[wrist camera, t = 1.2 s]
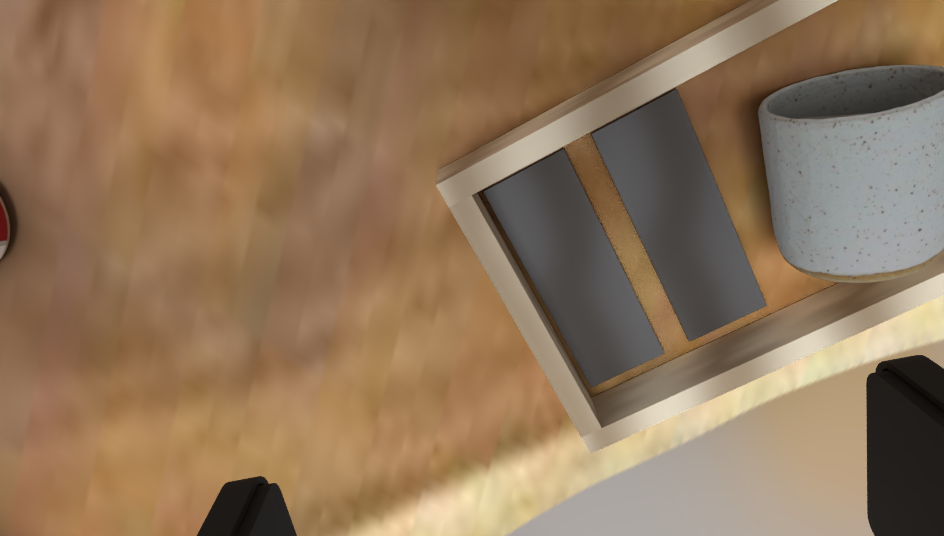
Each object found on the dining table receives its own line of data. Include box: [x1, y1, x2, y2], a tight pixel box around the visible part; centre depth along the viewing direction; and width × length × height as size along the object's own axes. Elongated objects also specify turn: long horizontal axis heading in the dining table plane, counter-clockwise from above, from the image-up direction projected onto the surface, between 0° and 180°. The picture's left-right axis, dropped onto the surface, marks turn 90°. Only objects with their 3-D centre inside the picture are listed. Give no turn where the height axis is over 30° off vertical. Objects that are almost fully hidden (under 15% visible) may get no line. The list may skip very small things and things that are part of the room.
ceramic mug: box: [758, 65, 944, 283], centre depth 30 cm, size 11×8×8 cm
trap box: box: [436, 0, 944, 453], centre depth 32 cm, size 32×17×3 cm, turn 118°
